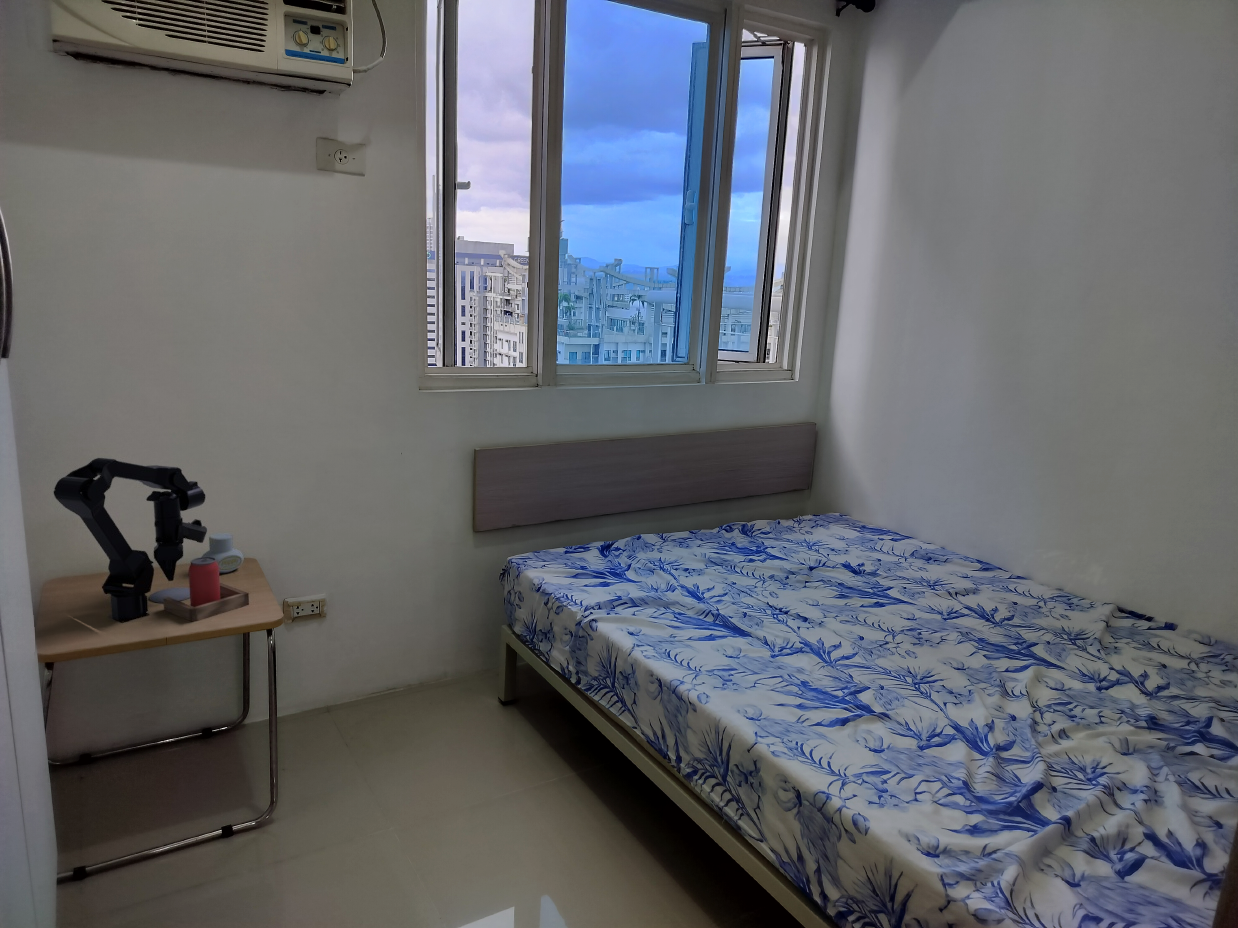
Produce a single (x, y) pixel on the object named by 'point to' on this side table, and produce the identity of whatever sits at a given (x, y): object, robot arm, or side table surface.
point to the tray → (209, 604)
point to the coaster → (171, 594)
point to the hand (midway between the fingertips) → (171, 574)
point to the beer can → (204, 581)
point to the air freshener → (224, 552)
